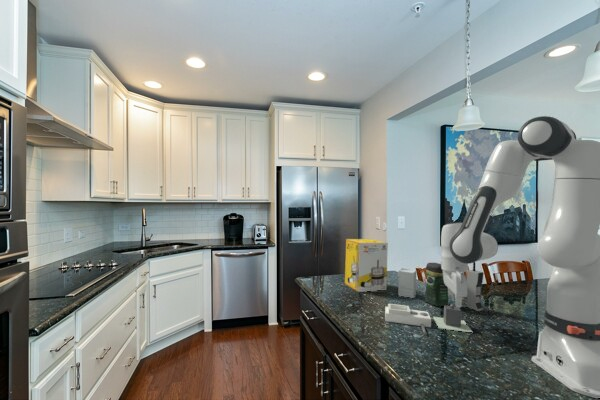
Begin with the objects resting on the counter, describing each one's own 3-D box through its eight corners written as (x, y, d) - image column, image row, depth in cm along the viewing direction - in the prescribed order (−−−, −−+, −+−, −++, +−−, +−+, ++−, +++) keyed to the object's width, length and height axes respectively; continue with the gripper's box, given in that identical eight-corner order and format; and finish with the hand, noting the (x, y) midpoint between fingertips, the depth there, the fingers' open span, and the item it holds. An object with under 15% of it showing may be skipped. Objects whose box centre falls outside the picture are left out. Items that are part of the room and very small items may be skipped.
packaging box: (358, 292, 147) (360, 242, 148) (344, 283, 163) (346, 239, 163) (386, 290, 152) (387, 242, 152) (370, 282, 167) (371, 239, 168)
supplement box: (416, 295, 145) (417, 270, 145) (413, 299, 139) (414, 272, 139) (401, 292, 149) (401, 268, 149) (397, 296, 143) (398, 270, 143)
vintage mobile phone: (477, 312, 124) (478, 253, 124) (466, 308, 128) (467, 251, 129) (482, 310, 126) (484, 253, 126) (471, 307, 130) (472, 251, 131)
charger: (460, 326, 106) (461, 307, 106) (445, 325, 107) (446, 305, 107) (457, 322, 110) (458, 303, 110) (443, 320, 111) (444, 302, 111)
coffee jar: (451, 307, 129) (452, 265, 130) (436, 308, 127) (437, 265, 128) (436, 300, 139) (437, 261, 139) (422, 300, 137) (423, 261, 137)
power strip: (435, 337, 98) (435, 323, 98) (385, 330, 102) (386, 317, 102) (427, 319, 114) (427, 307, 114) (385, 313, 118) (385, 302, 118)
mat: (472, 333, 102) (472, 332, 102) (438, 328, 105) (438, 327, 105) (464, 321, 112) (464, 320, 112) (433, 317, 115) (433, 316, 115)
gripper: (472, 271, 98) (473, 312, 97) (456, 261, 118) (457, 296, 117) (451, 269, 100) (452, 310, 99) (439, 261, 119) (440, 295, 119)
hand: (454, 302), depth 108 cm, fingers open, 8 cm apart
